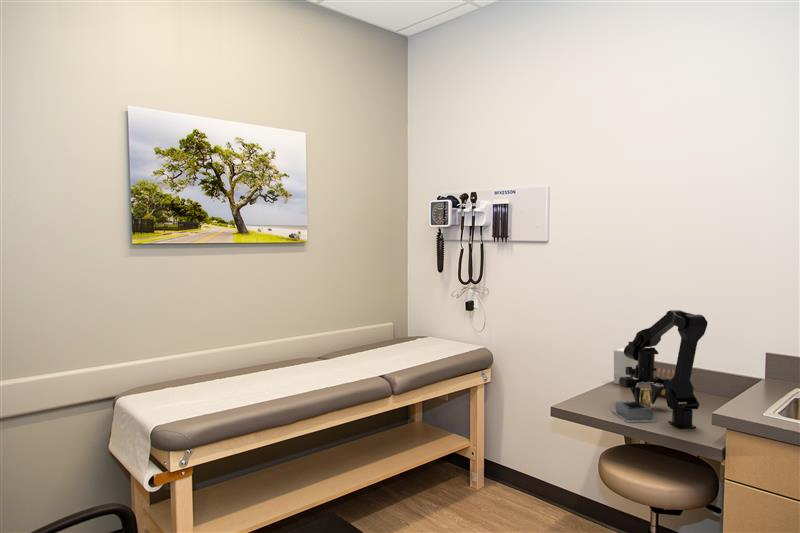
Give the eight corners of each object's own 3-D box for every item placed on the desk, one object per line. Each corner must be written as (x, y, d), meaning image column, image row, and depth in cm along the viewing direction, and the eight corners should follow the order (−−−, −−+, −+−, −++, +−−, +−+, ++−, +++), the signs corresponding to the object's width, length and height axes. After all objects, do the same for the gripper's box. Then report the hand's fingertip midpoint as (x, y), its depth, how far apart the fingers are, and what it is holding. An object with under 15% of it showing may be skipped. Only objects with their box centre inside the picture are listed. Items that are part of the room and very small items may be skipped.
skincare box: (638, 385, 235) (639, 351, 235) (628, 387, 232) (629, 352, 231) (621, 381, 243) (622, 347, 242) (612, 383, 239) (613, 349, 239)
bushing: (652, 409, 202) (653, 391, 201) (642, 409, 201) (643, 391, 201) (646, 406, 206) (647, 388, 205) (636, 406, 205) (637, 388, 205)
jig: (656, 421, 188) (657, 409, 188) (627, 422, 187) (627, 410, 186) (639, 411, 199) (640, 400, 198) (611, 412, 198) (612, 401, 197)
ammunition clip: (655, 396, 219) (656, 368, 218) (655, 395, 220) (656, 367, 220) (684, 400, 214) (686, 371, 213) (684, 399, 216) (685, 370, 215)
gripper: (657, 358, 212) (655, 397, 212) (612, 359, 210) (611, 398, 211) (674, 365, 201) (672, 405, 201) (627, 365, 199) (625, 406, 200)
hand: (644, 403), depth 203 cm, fingers open, 6 cm apart
